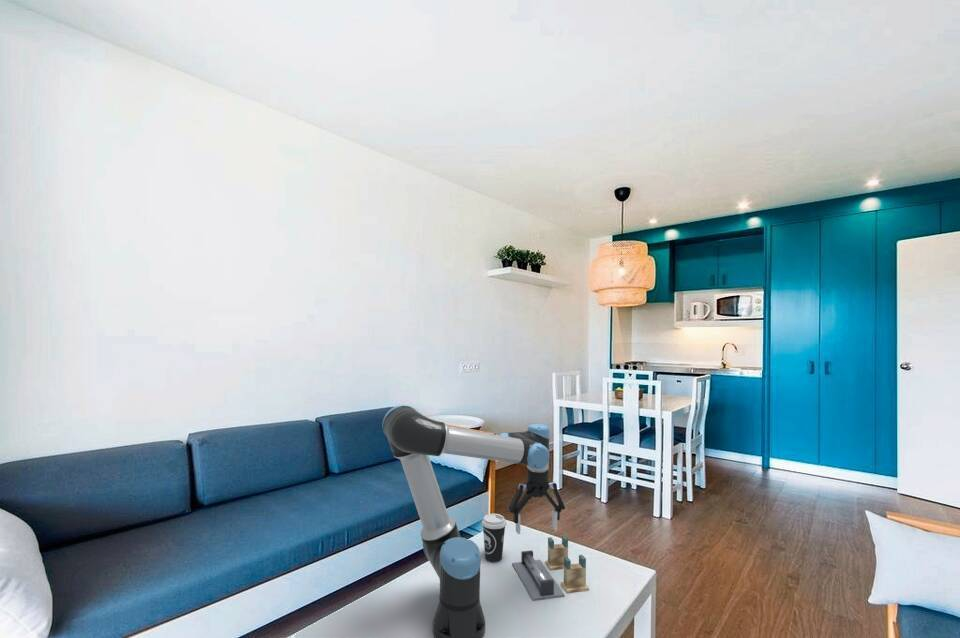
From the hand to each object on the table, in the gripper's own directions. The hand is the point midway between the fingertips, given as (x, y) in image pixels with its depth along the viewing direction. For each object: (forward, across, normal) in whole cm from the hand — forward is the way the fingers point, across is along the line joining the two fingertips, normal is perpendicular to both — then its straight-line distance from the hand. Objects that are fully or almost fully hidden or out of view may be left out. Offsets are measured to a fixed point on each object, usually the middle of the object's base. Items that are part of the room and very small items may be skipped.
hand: (536, 530), depth 148 cm
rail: (+16, 0, 0) cm, 16 cm away
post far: (+16, +12, +7) cm, 21 cm away
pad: (+17, +1, 0) cm, 17 cm away
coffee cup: (+17, -10, +17) cm, 26 cm away
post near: (+16, +12, -7) cm, 21 cm away
